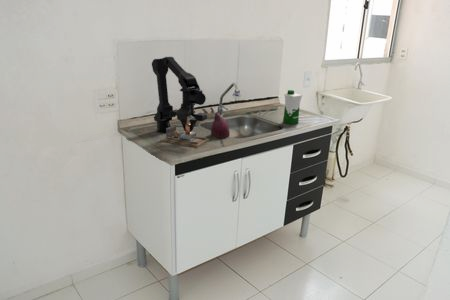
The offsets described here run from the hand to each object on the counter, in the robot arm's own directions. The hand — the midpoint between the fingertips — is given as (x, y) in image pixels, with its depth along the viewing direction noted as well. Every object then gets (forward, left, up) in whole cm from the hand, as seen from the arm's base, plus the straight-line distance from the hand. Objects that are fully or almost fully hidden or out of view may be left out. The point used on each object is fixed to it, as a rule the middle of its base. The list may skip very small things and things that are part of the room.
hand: (188, 131), depth 186 cm
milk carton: (+37, +66, -6) cm, 76 cm away
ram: (0, 0, -4) cm, 4 cm away
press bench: (-1, 0, -6) cm, 6 cm away
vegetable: (+10, +18, -6) cm, 21 cm away
